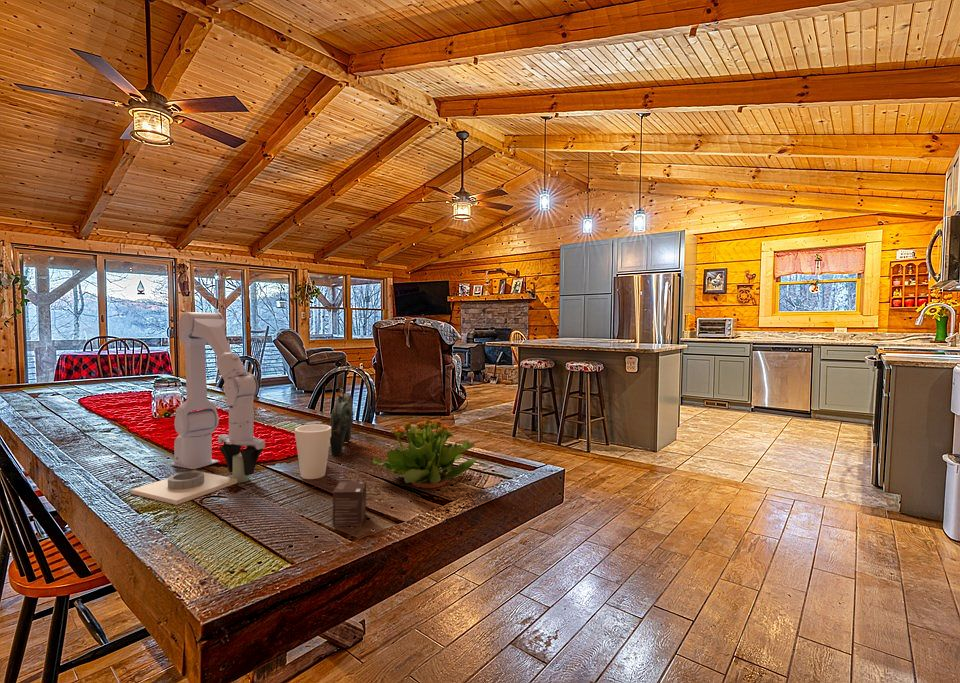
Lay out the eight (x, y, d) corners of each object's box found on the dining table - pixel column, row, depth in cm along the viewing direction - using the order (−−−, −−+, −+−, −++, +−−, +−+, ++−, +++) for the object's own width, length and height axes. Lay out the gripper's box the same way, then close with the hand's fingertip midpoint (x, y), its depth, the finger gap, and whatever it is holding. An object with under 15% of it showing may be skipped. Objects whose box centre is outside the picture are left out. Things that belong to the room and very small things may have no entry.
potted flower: (440, 463, 140) (441, 405, 140) (496, 483, 124) (498, 418, 123) (367, 481, 123) (367, 416, 122) (421, 508, 106) (423, 432, 105)
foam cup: (288, 474, 127) (288, 427, 126) (320, 467, 133) (320, 422, 133) (305, 483, 120) (305, 434, 120) (337, 475, 127) (337, 428, 126)
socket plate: (131, 493, 111) (130, 481, 111) (194, 473, 126) (194, 463, 126) (176, 504, 105) (176, 491, 105) (237, 482, 120) (237, 471, 120)
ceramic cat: (337, 440, 165) (338, 383, 164) (356, 439, 165) (357, 384, 164) (325, 456, 145) (326, 392, 144) (346, 456, 146) (347, 392, 145)
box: (338, 514, 102) (338, 481, 102) (366, 514, 102) (366, 481, 102) (332, 526, 96) (332, 491, 96) (361, 526, 96) (362, 491, 96)
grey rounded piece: (229, 481, 121) (229, 456, 121) (242, 476, 125) (242, 452, 124) (240, 483, 119) (240, 458, 119) (253, 478, 123) (253, 454, 123)
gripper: (207, 421, 120) (207, 473, 121) (248, 427, 115) (248, 481, 115) (231, 416, 127) (231, 465, 127) (271, 422, 121) (271, 473, 122)
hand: (241, 472), depth 122 cm, fingers open, 5 cm apart
